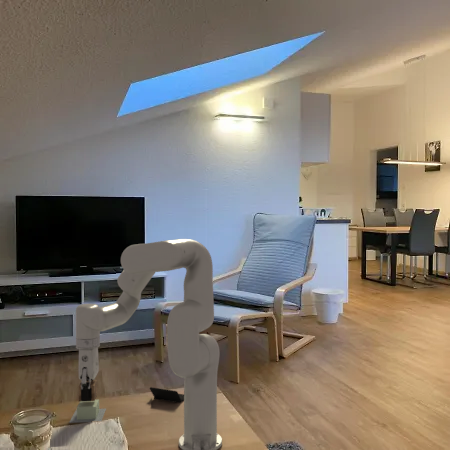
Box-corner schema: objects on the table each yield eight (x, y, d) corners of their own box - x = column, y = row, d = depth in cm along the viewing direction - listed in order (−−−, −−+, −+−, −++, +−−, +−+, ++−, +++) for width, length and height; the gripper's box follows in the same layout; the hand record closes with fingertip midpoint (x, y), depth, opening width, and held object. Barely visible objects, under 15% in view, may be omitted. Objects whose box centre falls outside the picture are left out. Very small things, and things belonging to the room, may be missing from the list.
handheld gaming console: (189, 390, 172) (181, 375, 167) (186, 408, 167) (178, 393, 161) (160, 392, 175) (151, 377, 169) (156, 410, 169) (147, 395, 163)
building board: (101, 423, 148) (101, 421, 148) (69, 425, 147) (69, 422, 147) (106, 410, 158) (106, 408, 158) (76, 412, 157) (76, 409, 157)
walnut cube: (94, 401, 150) (94, 385, 150) (78, 401, 150) (78, 386, 150) (97, 395, 155) (97, 380, 155) (81, 395, 155) (81, 380, 155)
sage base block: (95, 418, 150) (95, 406, 150) (76, 419, 149) (76, 407, 149) (99, 411, 156) (99, 399, 156) (80, 411, 155) (80, 400, 155)
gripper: (94, 349, 144) (95, 407, 144) (103, 335, 161) (104, 387, 161) (69, 349, 143) (70, 408, 144) (81, 335, 160) (81, 388, 161)
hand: (88, 396), depth 153 cm, fingers closed on walnut cube, 5 cm apart
